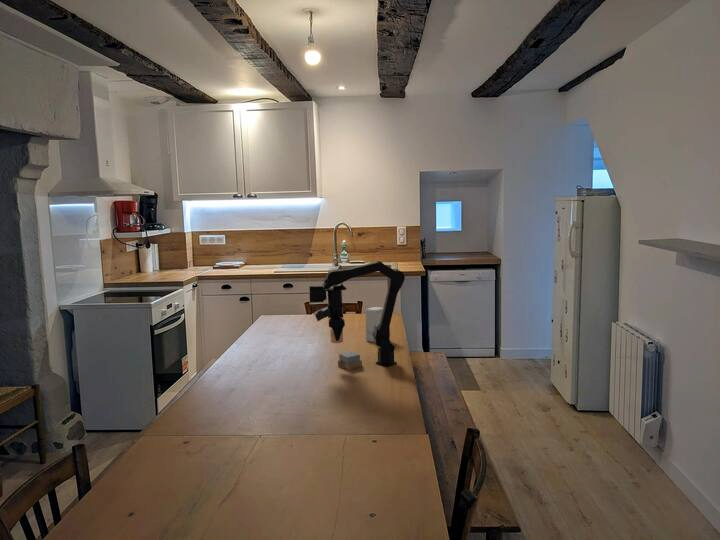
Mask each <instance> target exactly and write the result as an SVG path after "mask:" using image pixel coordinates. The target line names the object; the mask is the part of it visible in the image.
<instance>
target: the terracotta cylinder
mask: <svg viewBox="0 0 720 540" xmlns="http://www.w3.org/2000/svg"><path fill="white" fill-rule="evenodd" d="M329 330H330V331H329V332H330V343H332V344H341V343H343V342H344V329H343V330H342V333H341V336H340V338H339V341H336V339H335V335H334V331H333V329H332V328H330V329H329Z"/></svg>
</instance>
